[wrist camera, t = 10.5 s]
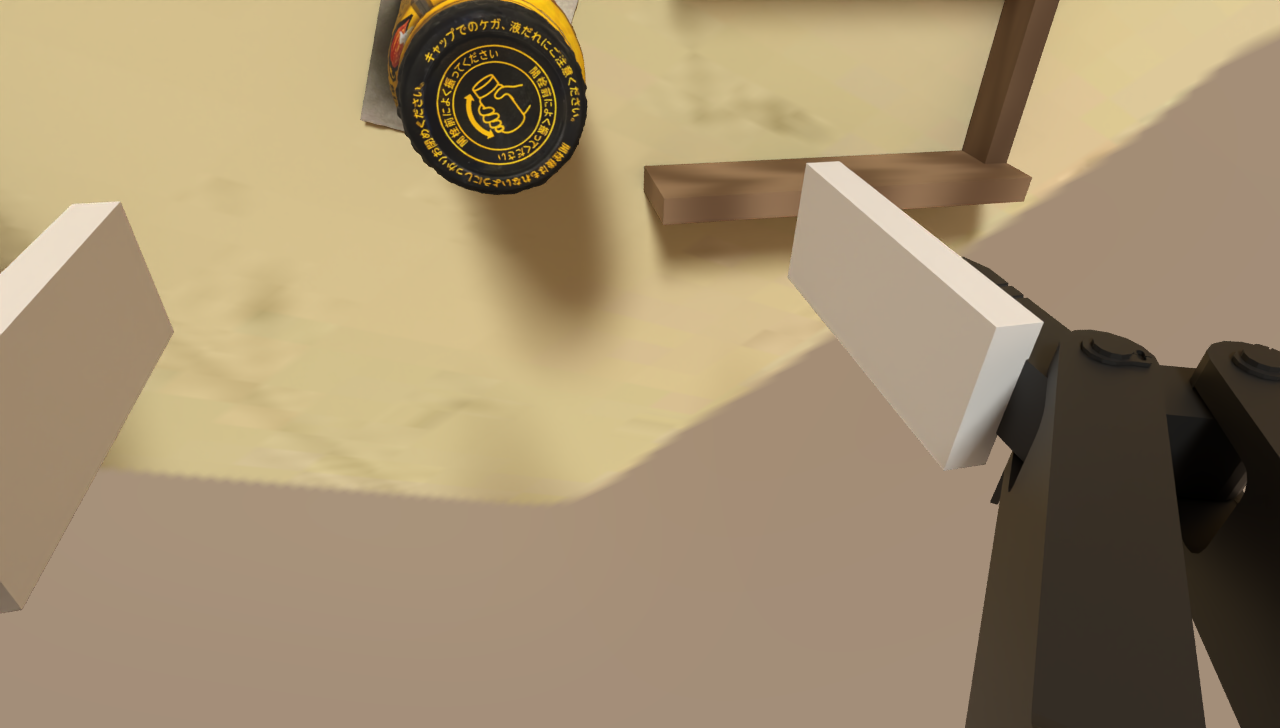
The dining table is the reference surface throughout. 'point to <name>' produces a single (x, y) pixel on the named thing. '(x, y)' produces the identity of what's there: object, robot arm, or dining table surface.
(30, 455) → the robot arm
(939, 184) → the walnut shelf lane
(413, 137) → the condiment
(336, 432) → the dining table surface
